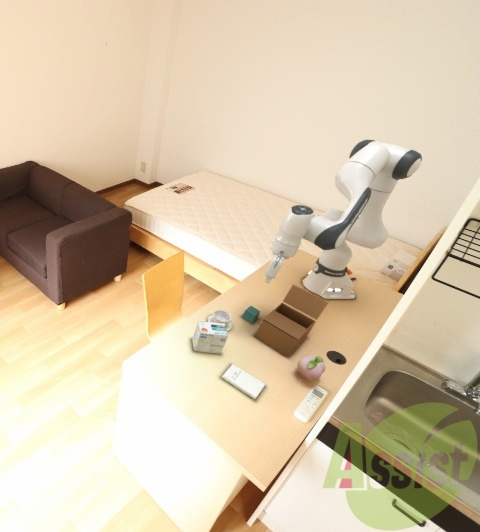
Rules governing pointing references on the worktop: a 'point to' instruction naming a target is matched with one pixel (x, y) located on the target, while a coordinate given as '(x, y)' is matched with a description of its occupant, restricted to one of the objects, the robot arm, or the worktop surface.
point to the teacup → (221, 318)
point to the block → (251, 314)
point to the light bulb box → (209, 337)
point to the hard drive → (243, 381)
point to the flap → (305, 302)
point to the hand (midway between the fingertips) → (269, 277)
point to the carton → (284, 329)
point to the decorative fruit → (311, 367)
